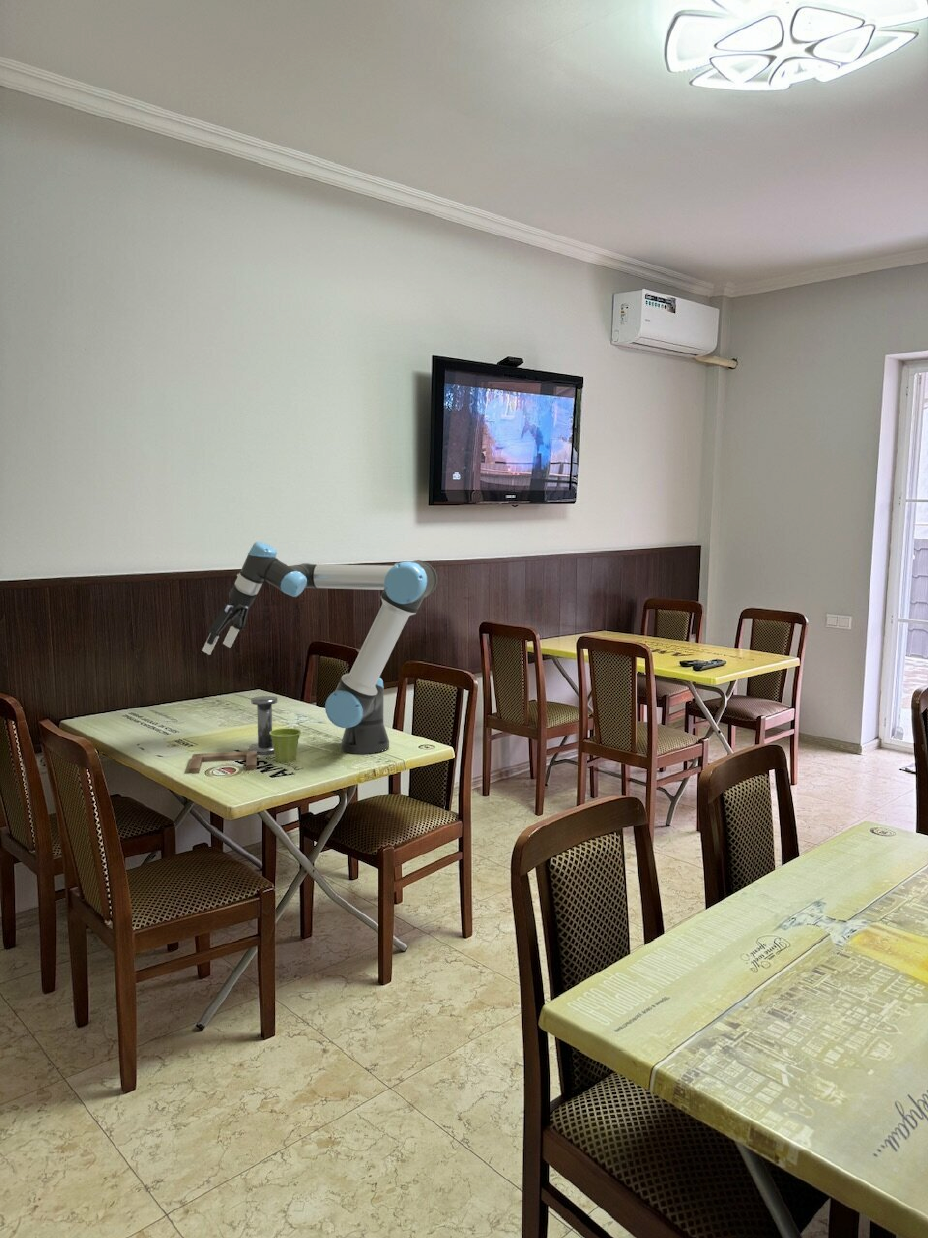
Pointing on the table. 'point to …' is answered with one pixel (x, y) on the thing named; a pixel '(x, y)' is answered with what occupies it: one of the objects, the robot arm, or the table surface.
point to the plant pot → (285, 744)
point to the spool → (264, 724)
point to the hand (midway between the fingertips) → (216, 649)
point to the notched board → (223, 759)
